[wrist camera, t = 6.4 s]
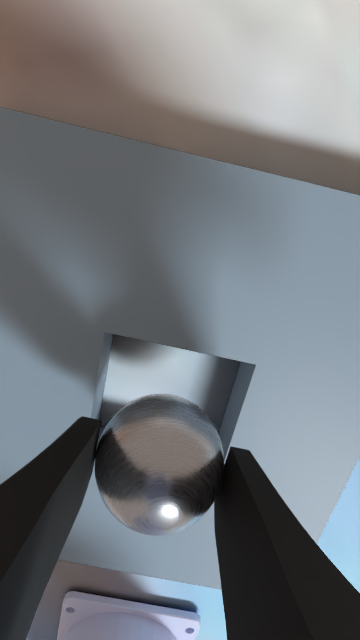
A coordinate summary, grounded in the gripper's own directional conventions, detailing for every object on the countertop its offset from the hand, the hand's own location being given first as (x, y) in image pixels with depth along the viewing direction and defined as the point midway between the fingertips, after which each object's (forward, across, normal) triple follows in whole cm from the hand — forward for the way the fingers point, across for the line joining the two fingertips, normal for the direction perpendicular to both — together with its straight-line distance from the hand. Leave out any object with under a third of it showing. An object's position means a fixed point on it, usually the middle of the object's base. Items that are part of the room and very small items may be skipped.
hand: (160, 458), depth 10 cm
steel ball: (0, 0, 0) cm, 0 cm away
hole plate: (+4, 0, 0) cm, 4 cm away
